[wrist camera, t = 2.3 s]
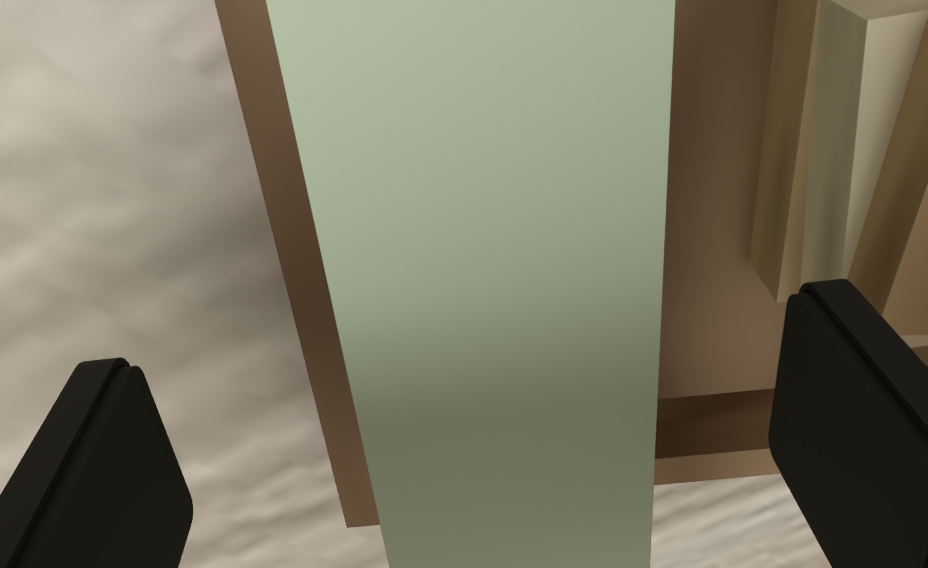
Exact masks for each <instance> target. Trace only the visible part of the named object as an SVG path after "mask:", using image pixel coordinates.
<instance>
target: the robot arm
mask: <svg viewBox="0 0 928 568" xmlns="http://www.w3.org/2000/svg"><path fill="white" fill-rule="evenodd" d="M768 440H769V447H770V452H771V455H772V457H773V460H774V462H775V463H776V465H777V467H778V469H779V471H780V473H781V475H782V476H783V478H784V480H785V482H786V484H787V486H788V487H789V489H790V491H791V493H792V495H793V497H794V498H795V500H796V502H797V504H798V506H799V508H800V509H801V511H802V513H803V515H804V517H805V519H806V521H807V522H808V524H809V526H810V528H811V530H812V532H813V533H814V535H815V537H816V539H817V541H818V543H819V544H820V546H821V548H822V550H823V552H824V554H825V555H826V557H827V559H828V561H829V563H830V565H831V567H832V568H928V366H926V365H925V364H924V363H923V361H922V360H921V359H920V358H919V357H918V356H917V355H916V354H915V353H914V351H913V350H912V349H911V348H910V347H909V346H908V345H907V344H906V343H905V341H904V340H903V339H902V338H901V337H900V336H899V335H898V334H897V333H896V331H895V330H894V329H893V328H892V327H891V326H890V325H889V324H888V323H887V321H886V320H885V319H884V318H883V317H882V316H881V315H880V314H879V313H878V312H877V310H876V309H875V308H874V307H873V306H872V305H871V304H870V303H869V302H868V300H867V299H866V298H865V297H864V296H863V295H862V294H861V293H860V292H859V290H858V289H857V288H856V287H855V286H854V285H853V284H852V283H851V282H850V281H849V280H847V279H834V280H825V281H816V282H807V283H804V284H803V285H802V286H801V287H800V289H799V293H798V294H792V295H790V296H789V298H788V301H787V305H786V312H785V319H784V327H783V334H782V341H781V348H780V355H779V362H778V369H777V376H776V383H775V390H774V397H773V405H772V412H771V419H770V426H769V434H768ZM192 519H193V503H192V498H191V495H190V492H189V490H188V487H187V485H186V482H185V479H184V477H183V474H182V472H181V469H180V466H179V464H178V461H177V459H176V456H175V453H174V451H173V448H172V446H171V443H170V440H169V438H168V435H167V433H166V430H165V428H164V425H163V422H162V420H161V417H160V415H159V412H158V409H157V407H156V404H155V402H154V399H153V396H152V394H151V391H150V389H149V386H148V383H147V381H146V378H145V376H144V373H143V371H142V370H141V369H140V367H138V366H130V365H129V363H128V362H127V361H126V360H125V359H124V358H111V359H102V360H93V361H84V362H81V363H79V364H78V365H77V367H76V368H75V370H74V371H73V373H72V375H71V376H70V378H69V380H68V381H67V383H66V385H65V386H64V388H63V390H62V392H61V393H60V395H59V397H58V398H57V400H56V402H55V403H54V405H53V407H52V408H51V410H50V412H49V414H48V415H47V417H46V419H45V420H44V422H43V424H42V425H41V427H40V429H39V431H38V432H37V434H36V436H35V437H34V439H33V441H32V442H31V444H30V446H29V447H28V449H27V451H26V453H25V454H24V456H23V458H22V459H21V461H20V463H19V464H18V466H17V468H16V469H15V471H14V473H13V475H12V476H11V478H10V480H9V481H8V483H7V485H6V486H5V488H4V490H3V492H2V493H1V495H0V568H178V566H179V563H180V560H181V556H182V553H183V550H184V547H185V543H186V540H187V537H188V533H189V530H190V527H191V523H192Z"/></svg>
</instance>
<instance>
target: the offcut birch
mask: <svg viewBox="0 0 928 568" xmlns="http://www.w3.org/2000/svg"><path fill="white" fill-rule="evenodd" d="M927 19H928V0H820V12H819V26H818V41H817V55H816V69H815V83H814V97H813V112H812V126H811V140H810V154H809V169H808V183H807V197H806V211H805V225H804V240H803V254H802V268H801V282H800V287H801V286H802V285H803V284H804V283H807V282H816V281H825V280H834V279H847V277H848V274H849V271H850V268H851V264H852V261H853V258H854V255H855V251H856V248H857V245H858V242H859V238H860V235H861V232H862V229H863V226H864V222H865V219H866V216H867V213H868V209H869V206H870V203H871V200H872V196H873V193H874V190H875V187H876V184H877V180H878V177H879V174H880V171H881V167H882V164H883V161H884V158H885V155H886V151H887V148H888V145H889V142H890V138H891V135H892V132H893V129H894V125H895V122H896V119H897V116H898V113H899V109H900V106H901V103H902V100H903V96H904V93H905V90H906V87H907V83H908V80H909V77H910V74H911V71H912V67H913V64H914V61H915V58H916V54H917V51H918V48H919V45H920V41H921V38H922V35H923V32H924V29H925V25H926V22H927ZM899 336H900V337H901V338H902V339H903V340H904V341H905V343H906V344H907V345H908V346H909V347H910V348H913V347H920V346H927V345H928V335H899Z"/></svg>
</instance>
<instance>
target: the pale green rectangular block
mask: <svg viewBox="0 0 928 568" xmlns="http://www.w3.org/2000/svg"><path fill="white" fill-rule="evenodd" d="M266 3H267V8H268V12H269V17H270V22H271V26H272V31H273V35H274V40H275V45H276V49H277V54H278V58H279V63H280V67H281V72H282V77H283V81H284V86H285V90H286V95H287V100H288V104H289V109H290V113H291V118H292V122H293V127H294V132H295V136H296V141H297V145H298V150H299V155H300V159H301V164H302V168H303V173H304V177H305V182H306V187H307V191H308V196H309V200H310V205H311V210H312V214H313V219H314V223H315V228H316V232H317V237H318V242H319V246H320V251H321V255H322V260H323V265H324V269H325V274H326V278H327V283H328V287H329V292H330V297H331V301H332V306H333V310H334V315H335V320H336V324H337V329H338V333H339V338H340V342H341V347H342V352H343V356H344V361H345V365H346V370H347V375H348V379H349V384H350V388H351V393H352V397H353V402H354V407H355V411H356V416H357V420H358V425H359V429H360V434H361V439H362V443H363V448H364V452H365V457H366V462H367V466H368V471H369V475H370V480H371V484H372V489H373V494H374V498H375V503H376V507H377V512H378V517H379V521H380V526H381V530H382V535H383V539H384V544H385V549H386V553H387V558H388V562H389V567H390V568H650V553H651V531H652V509H653V486H654V464H655V442H656V419H657V397H658V375H659V352H660V330H661V308H662V285H663V263H664V241H665V218H666V196H667V173H668V151H669V129H670V106H671V84H672V62H673V39H674V17H675V0H266Z"/></svg>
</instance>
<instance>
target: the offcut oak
mask: <svg viewBox="0 0 928 568" xmlns="http://www.w3.org/2000/svg"><path fill="white" fill-rule="evenodd" d="M819 12H820V0H778V6H777V15H776V24H775V33H774V42H773V51H772V60H771V69H770V78H769V87H768V96H767V105H766V114H765V123H764V132H763V141H762V150H761V159H760V168H759V177H758V186H757V195H756V204H755V213H754V222H753V231H752V240H751V249H750V258H749V262H750V264H751V265H752V267H753V268H754V270H755V271H756V273H757V274H758V276H759V277H760V279H761V280H762V282H763V283H764V285H765V286H766V288H767V289H768V291H769V292H770V294H771V295H772V297H773V298H774V300H775V301H776V303H781V302H787V301H788V298H789V296H790V295H792V294H798V293H799V289H800V282H801V268H802V254H803V240H804V225H805V211H806V197H807V183H808V169H809V154H810V140H811V126H812V112H813V97H814V83H815V69H816V55H817V41H818V26H819Z"/></svg>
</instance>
